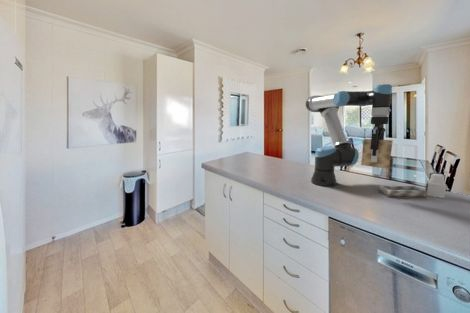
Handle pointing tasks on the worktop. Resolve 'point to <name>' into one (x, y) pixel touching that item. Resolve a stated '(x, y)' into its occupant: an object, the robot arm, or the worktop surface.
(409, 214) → the worktop surface
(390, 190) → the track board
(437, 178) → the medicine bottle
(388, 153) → the door slab
